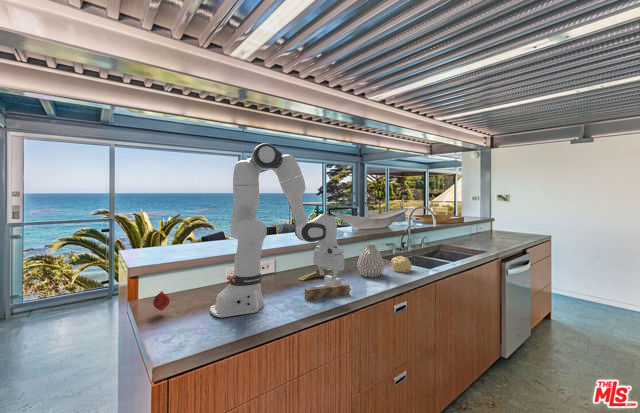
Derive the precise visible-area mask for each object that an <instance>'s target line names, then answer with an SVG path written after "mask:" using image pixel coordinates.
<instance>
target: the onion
mask: <svg viewBox="0 0 640 413" xmlns="http://www.w3.org/2000/svg"><path fill="white" fill-rule="evenodd" d="M152 304H153V307H154V308H155V309H157V310H158V311H164V310H165V309H166V308H167V307H168V306H169V304H170V297H169V295H167V294H166V293H165V292H164V291H163V290H161V291H160V292H159V293H157V295H156V296H155V297H154V299H153V302H152Z"/></svg>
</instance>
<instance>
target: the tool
mask: <svg viewBox="0 0 640 413" xmlns="http://www.w3.org/2000/svg"><path fill="white" fill-rule="evenodd" d="M323 271H324V275H320V271H319V269H318V268H317V269H316V270H315V271H314V272H311V273H307V274H305V275H302V276H300V277H298V278H297V280H298V281H306V280H311V279H314V278H324V276H326V275H327V274H328V275H329V273H330V272H333V270H332V269H328V268H323Z"/></svg>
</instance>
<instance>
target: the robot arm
mask: <svg viewBox="0 0 640 413" xmlns="http://www.w3.org/2000/svg"><path fill="white" fill-rule="evenodd" d="M269 170H271V171H273V172H274V173H275V175H276V176H277V178H278V179H277V180H278V182H279V184H280V187H281V189H282V193H283V194H284V196H285V197H286V200H287V202H288V204H289V207H290V210H291V213H292V214H291V215H292V217H293V220H294V235H295V236H296V237H297V239H298V240H300V241H305V242H307V243H314V242H318V245H317V246H316V247H315V248H314V251H313V257H312V258H313V259H312V263H313V265H314V266H317V269H319V271H320V275H324V271H323V269H331V270H332V272H333V273H332V275H331V276H332V279H336V278H338V277H337V275H338V273H339V272H342V271H344V269H345V255H344V253H345V249H344V247H341V246H340V245H339V244H338V239H337V234H338V225H337V219H336V217H335V216H334V215H333V214H327V213H320V214H319V215H318V216H317V217H315V218H313V219H311V220H309V218H308V216H307V213H306V210H305V207H304V203H303V197H304V194H305V192H306V190H307V189H306V182H305V179H304V176H303V172H302V170H301V168H300V166H299V164H298V162H297V160H296V158H295V157H294V156H293V155H291V154H283V153H282V152H281V151H280V150H279V149H278V148H276V146H274V145H273V144H271V143H267V142H264V143H260V144H258V145H257V146H256V147H255V148H254V149H253V151H252V153H251V156H250V158H249V159H246V160H245V159H242V160H239V161H238V162H236V163H235V164H234V169H233V176H232V177H233V178H232V192H233V193H232V196H233V207H232V214H231V223H230V227H229V231H230V234H231V235H232V237H233V239H235V240H237V247H236V253H235V255H234V258H233V259H234V274H233V275H230V274H228V275H227V276H226V280H227V281H229V284H228V285H227V286H226V287H225V288H223V289H222V290H221V291H220V292H219V293H218V294H217V295H216V300H215V303H214V304H213V305H211V306H210V307H209V312H210V313H211V314H212V316H215V317H218V318H227V317H234V316H239V315H247V314H254V313H258V312H259V311H260V309H262V308H264V306H265V303H264V300H263V295H262V282H263V281H262V279H263V278H262V272H261V256H262V250H263V245H264V240H265V238H266V237H267V233H268V230H267V226H266V224H265V223H264V222H263V220H260V219H259V218H257V214H258V213H257V212H258V208H259V205H260V182H259V181H260V179H259V178H260V174H261V173H264V172H266V171H269Z"/></svg>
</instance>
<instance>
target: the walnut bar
mask: <svg viewBox="0 0 640 413" xmlns="http://www.w3.org/2000/svg"><path fill="white" fill-rule="evenodd" d="M349 287H350V284H348V283H341V284H337V285H329V286H321V287H314V286H313V287H306V288H304V299H305V301H315V300H321V299H329V298H337V297H338V298H339V297H344V296H350V290H349Z"/></svg>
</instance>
